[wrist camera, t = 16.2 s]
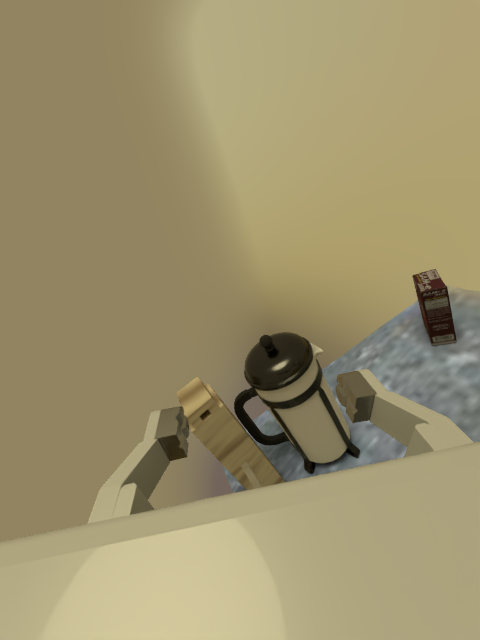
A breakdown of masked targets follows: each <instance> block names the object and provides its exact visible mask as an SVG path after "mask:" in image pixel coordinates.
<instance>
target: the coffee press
mask: <svg viewBox="0 0 480 640" xmlns="http://www.w3.org/2000/svg"><path fill="white" fill-rule="evenodd" d="M322 353H323V350H322V349H320V348H318V347H317V346H315V345H313V344H311V343H309V341H308V340H306V339H305V338H303V337H301V336H299V335H297V334H294V333H289V332H283V333H278V334H273V335H271V336H268V335H264V336H262V337H261V338H260V342H259V343H257V344H256V345H255V346H254V347H253V348H252V349H251V351H250V352H249V354H248V356H247V358H246V361H245V371H244V374H245V378H246V380H247V382H248V383H249V384H250V386H252V388H250V389H249V390H244V391H243V392H241V393H240V394H239V395H238V396H237V397H236V399H235V402H234V409H235V413H236V415H237V417H238V419H239V420H240V421H241V423H242V424H243V425H244V427H245V428H246V429H247V431H248V432H249V433H250V434H251V436H252V437H253V438H254V439H255V440H256V441H257V442H259V443H261V444H264V445H276V444H280V443H283V442H286V441H290V442H292V443H293V444H292V443H291V444H292V445H293V447H294V448H295V449H296V450H297V451H298V452H299V453H300V454H301V455H302V457H303V459H304V468H305V470H306V471H307V472H309V473H311V474H312V473H313V472H314V469H315V463H328V462H332V461H334V460H336V459H338V458H339V457H340V456H341V455H342V454H343V453H344V452H345V451H346V452H348V453H349V454H350V455H352V456H353V457H356V458H358V455H359V452H360V450H359V449H358V448H357V447H356V446H354V445H353V444H352V443H351V442H350V431H349V427H348V425H347V422H346V420H345V418H344V416H343V414H342V412H341V410H340V408H339V406H338V404H337V402H336V400H335V398H334V396H333V394H332V392H331V390H330V388H329V386H328V384H327V382H326V380H325V378H324V376H323V374H322V369H321V367H320V365H319V363H318V361H317V359H316V358H317V356H318V355H320V354H322ZM257 395H258V396H259V398H260V399H261V400H262V402H263V403H264V404H266V406H267V407H268V408H269V410H270V411H271V413H272V414H273V416H274V417H275V419H276V420H277V422H278V423H279V425H280V426H281V427H282V429H283V430H284V432H283V433H281V434H278V435H275V436H267V435H264V434H263V433H261V431H260V430H259V429H258V428H257V426H256V425H255V424H254V422H253V421H252V420H251V418H250V417H249V416H248V414H247V413H246V412H245V410H244V408H243V405H244V403H245V402H246V401H248V400H249V399H251V398H252V397H255V396H257Z"/></svg>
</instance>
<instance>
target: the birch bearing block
mask: <svg viewBox="0 0 480 640" xmlns="http://www.w3.org/2000/svg"><path fill="white" fill-rule="evenodd" d="M176 394H177V396H178V399H179V401H180V404H181V406H182V407H183V409H184V414H185V416H187V419H188V422H189V426H190V429H191V431H192V433H193V434H194V435H195V436H196V437H197V438H198V439H199V440H200V441H201V442H202V443H203V444H204V446H205V447H206V448H207V449H208V450H209V451H210V452H211V453H212V454H213V455H214V456H215V457H216V458H217V459H218V460H219V461H220V462H221V464H222V465H223V466H224V467H225V468H226V469H227V470H228V471H229V472H230V473H231V474H232V475H233V476H234V477H235V478H236V479H237V480H238V481H239V483H240V484H241V485H242V486H243V487H244V488H245V489H246V490H251V489H254V487H253V486H252V484H251V482H250V481H249V479H248V477H247V475H246V474H245V472H244V470H243V468H242V467H241V465H242V464H243V463H244V462H245V461H246V462H247V463H248V464H249V466H250V467H251V469H252V470H253V472H254V474H255V475H256V477H257V478H258V480H259V482H260V483H261V485H262V486H263V487H265V486H270V485H275V484H279V483H284V482H285V481H284V480H283V478H282V477H281V476H280V474H279V473H278V472H277V470H276V469H275V468H274V466H273V465H272V464H271V462H270V461H269V460H268V458H267V457H266V456H265V454H264V453H263V452H262V451H261V449H260V448H259V447H258V446H257V444H256V443H255V442H254V441H253V439H252V438H251V437H250V436H249V434H248V433H247V432H246V430H245V429H244V428H243V427H242V425H241V424H240V423H239V422H238V420H237V419H236V418H235V417H234V415H233V414H232V413H231V412H230V410H229V409H228V408H227V406H226V405H225V404H224V403H223V401H222V400H221V399H220V398H219V397H218V395H217V394H216V393H215V391H214V390H213V389H212V388H211V386H210V385H209V384H206V385H204V384H203V383H202V381H201V380H200V379H199V378H198V377H196V378H195V379H194V380H192V381H191V382H190V383H188V384H187V385H186V386H185V387H184V388H183V389H181V390H180V391H179V392H177V393H176Z"/></svg>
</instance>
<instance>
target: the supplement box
mask: <svg viewBox="0 0 480 640" xmlns="http://www.w3.org/2000/svg"><path fill="white" fill-rule="evenodd" d="M413 280H414V284H415V288H416V293H417V297H418V301H419V305H420V309H421V313H422V318H423V322H424V326H425V328H426V331H427V333H428V335H429V338H430V341H431V344H432V346H435V345H443V344H451V343H456V342H457V341H456V336H455V330H454V324H453V319H452V313H451V307H450V301H449V295H448V290H447V286H446V285H445V284H444V283H443V281H442V280H441V278H440V276H439V275H438V273H437V270H436V269H434V270H430V271H426V272H423V273H420V274H416V275H413Z"/></svg>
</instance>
